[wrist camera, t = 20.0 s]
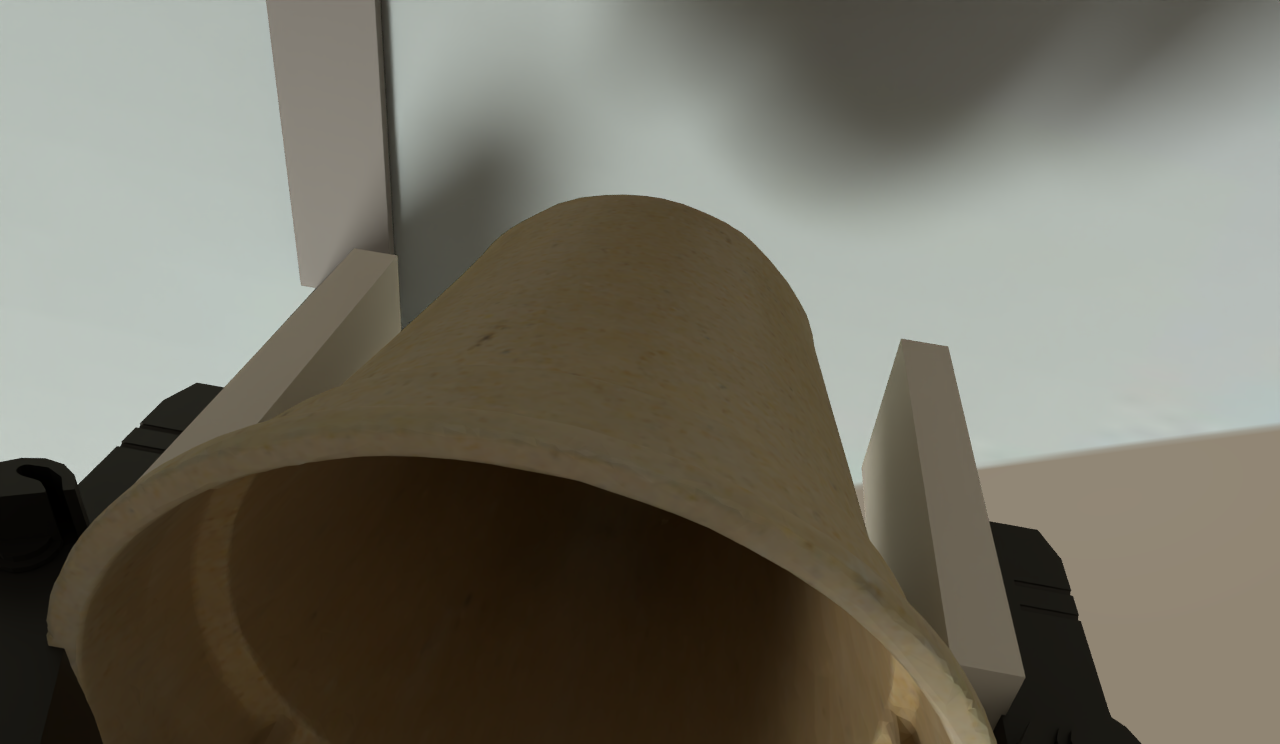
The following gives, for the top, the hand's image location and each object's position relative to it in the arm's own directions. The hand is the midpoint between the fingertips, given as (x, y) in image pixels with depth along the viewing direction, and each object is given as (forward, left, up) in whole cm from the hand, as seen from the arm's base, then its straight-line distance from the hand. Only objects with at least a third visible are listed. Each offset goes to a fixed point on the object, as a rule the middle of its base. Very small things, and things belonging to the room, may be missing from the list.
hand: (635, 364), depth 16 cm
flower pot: (0, 0, -1) cm, 1 cm away
